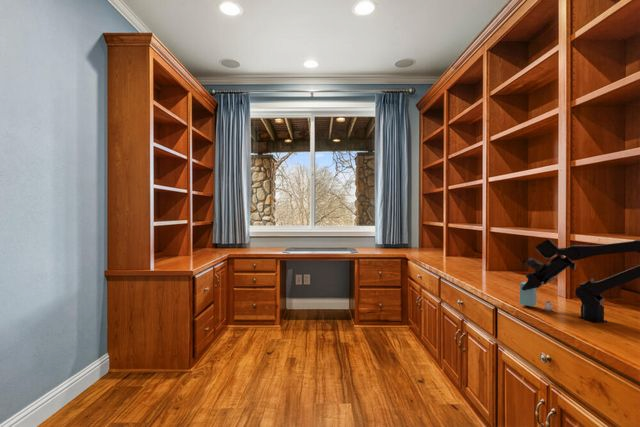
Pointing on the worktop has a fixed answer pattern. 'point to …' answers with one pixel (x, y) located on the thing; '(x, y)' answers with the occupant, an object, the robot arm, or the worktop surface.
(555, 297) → the worktop surface
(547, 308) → the post
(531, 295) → the pale teal block
